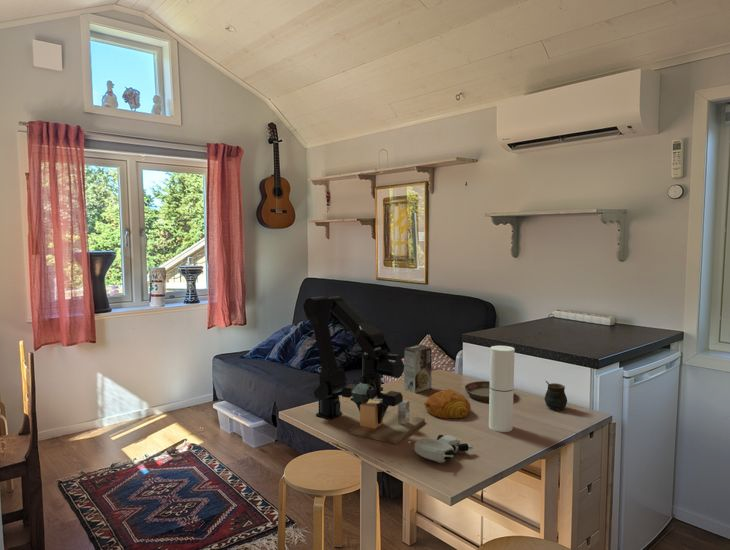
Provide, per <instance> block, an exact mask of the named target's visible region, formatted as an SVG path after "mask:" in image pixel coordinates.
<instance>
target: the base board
mask: <svg viewBox="0 0 730 550" xmlns="http://www.w3.org/2000/svg"><path fill="white" fill-rule="evenodd" d="M425 422H426V418H424V417H419V416H414V415H409V423H408V424H407V425H401V424H398V412H395V411H394V412H393V411H389V410H386V412H385V414H384V417H383V424H381V425H380V426H378V427H377V428H375V429H374V428H369V427H365V426H360V422H359V423H357V424H355V425H353V426H352V427H349V429H348V434H350V435H355V436H359V437H364V438H368V439H372V440H376V441H379V442H384V443H387V444H388V443H389V444H392V445H397V444H399V443H400V442H401V441H402V440H404V439H405V438H406V437H407V436H409V435H410V434H412V433H413V432H414V431H416V430H417V429H418V428H420V427H421V426H422V425H424V424H425Z"/></svg>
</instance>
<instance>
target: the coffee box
mask: <svg viewBox="0 0 730 550" xmlns="http://www.w3.org/2000/svg"><path fill="white" fill-rule="evenodd" d="M403 356H404V357H403V358H404V359H403V364H404V372H403V389H404V390H406V391H408V392H412V393H415V394H416V393H420V392H423V391H425V390H429V389H432V346H427V345H423V344H416V345H413V346H409V347H404V348H403Z"/></svg>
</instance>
